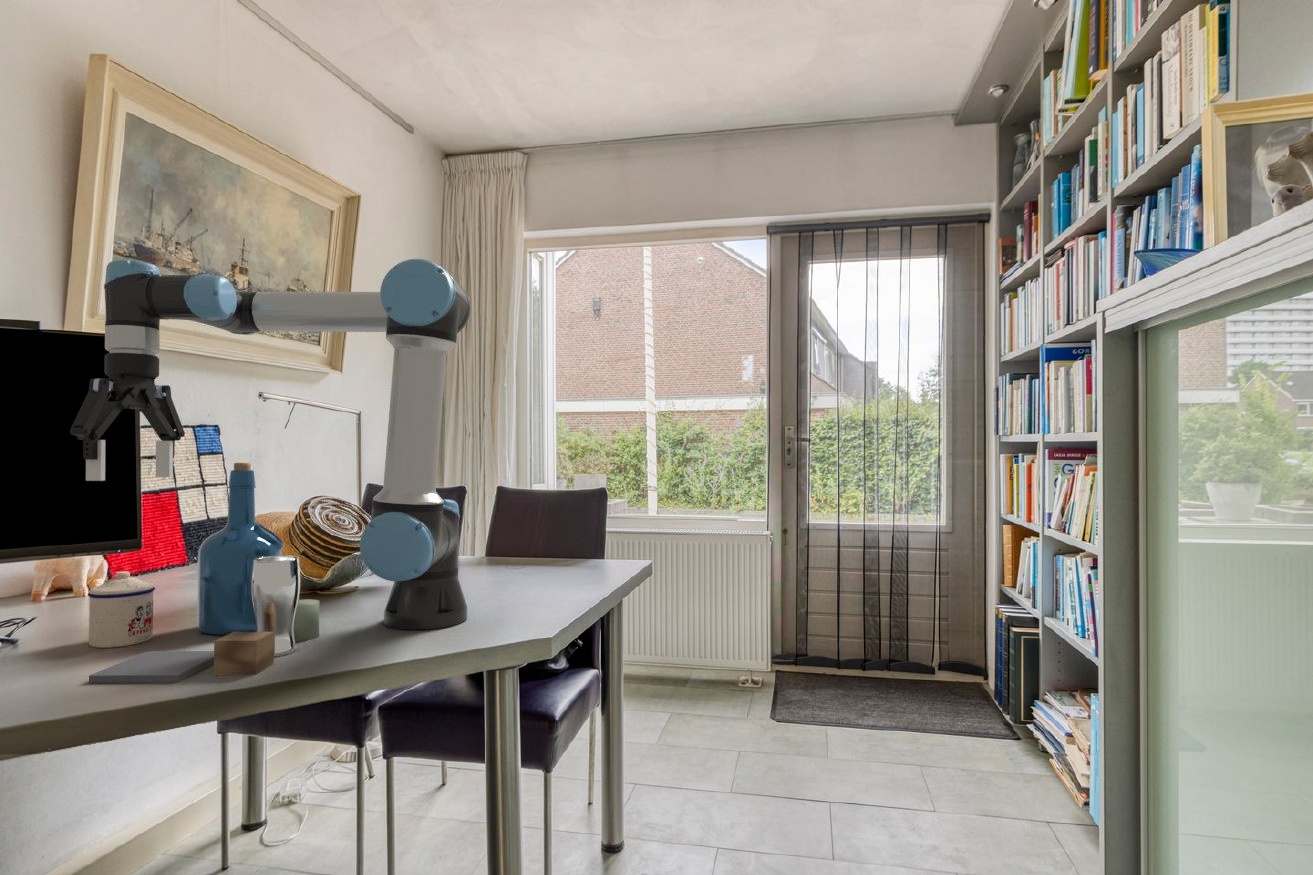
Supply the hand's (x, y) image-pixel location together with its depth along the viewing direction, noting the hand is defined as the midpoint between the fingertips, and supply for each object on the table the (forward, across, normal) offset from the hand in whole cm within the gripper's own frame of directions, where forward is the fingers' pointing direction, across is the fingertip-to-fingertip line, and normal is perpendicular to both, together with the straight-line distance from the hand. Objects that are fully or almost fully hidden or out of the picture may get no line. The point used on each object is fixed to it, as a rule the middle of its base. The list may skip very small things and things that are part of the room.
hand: (131, 479), depth 121 cm
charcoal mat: (+28, +13, +18) cm, 35 cm away
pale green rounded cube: (+28, -6, +27) cm, 39 cm away
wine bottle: (+28, -11, +12) cm, 32 cm away
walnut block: (+28, +11, +30) cm, 42 cm away
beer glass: (+28, +2, +28) cm, 40 cm away
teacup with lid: (+28, -1, -2) cm, 28 cm away
